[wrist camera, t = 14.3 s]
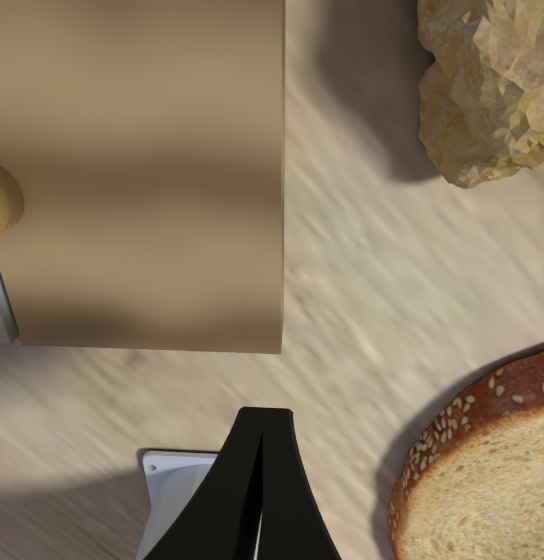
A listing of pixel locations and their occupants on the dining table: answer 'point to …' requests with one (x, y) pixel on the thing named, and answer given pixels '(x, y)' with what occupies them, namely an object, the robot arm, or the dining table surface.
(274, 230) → the door mockup
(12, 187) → the bar
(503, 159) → the stone tool
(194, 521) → the robot arm
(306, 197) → the dining table surface
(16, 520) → the dining table surface
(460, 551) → the slice of bread
